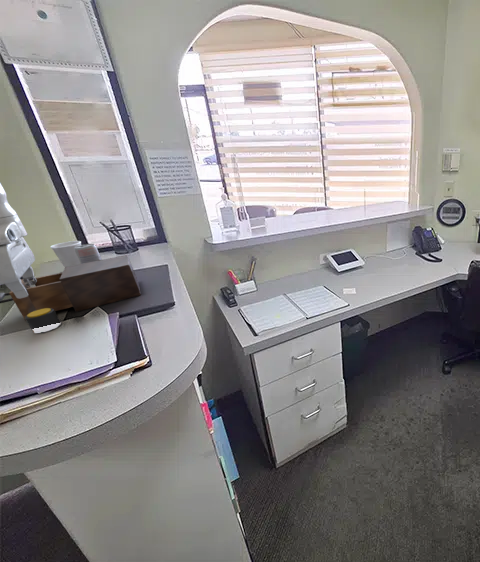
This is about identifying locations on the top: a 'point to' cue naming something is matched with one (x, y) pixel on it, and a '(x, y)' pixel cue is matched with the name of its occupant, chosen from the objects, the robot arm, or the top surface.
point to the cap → (42, 318)
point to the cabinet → (100, 282)
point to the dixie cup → (67, 252)
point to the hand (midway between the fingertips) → (28, 290)
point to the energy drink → (87, 253)
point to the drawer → (41, 295)
